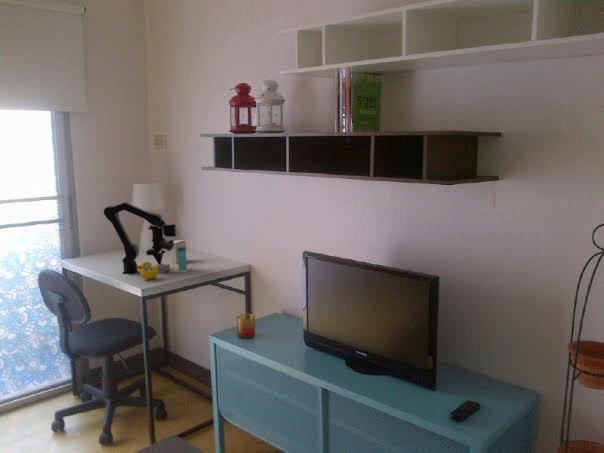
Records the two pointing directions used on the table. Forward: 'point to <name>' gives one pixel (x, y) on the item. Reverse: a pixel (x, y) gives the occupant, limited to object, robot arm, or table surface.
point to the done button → (160, 265)
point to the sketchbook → (176, 269)
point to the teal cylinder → (182, 258)
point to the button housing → (162, 268)
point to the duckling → (147, 270)
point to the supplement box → (176, 250)
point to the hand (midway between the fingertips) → (159, 264)
